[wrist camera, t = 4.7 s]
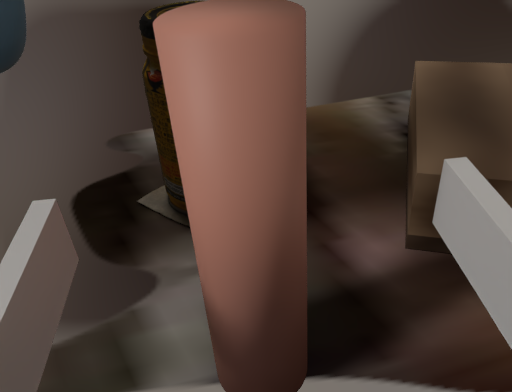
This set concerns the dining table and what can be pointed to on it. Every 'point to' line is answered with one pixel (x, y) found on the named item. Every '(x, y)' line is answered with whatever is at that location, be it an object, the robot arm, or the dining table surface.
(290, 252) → the peg
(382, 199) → the dining table surface
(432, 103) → the socket block
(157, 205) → the condiment
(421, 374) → the dining table surface
